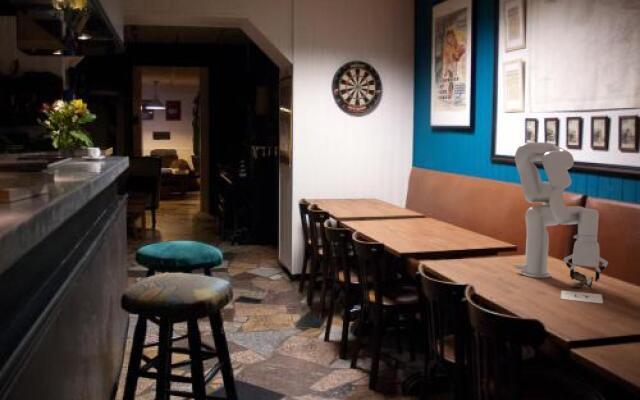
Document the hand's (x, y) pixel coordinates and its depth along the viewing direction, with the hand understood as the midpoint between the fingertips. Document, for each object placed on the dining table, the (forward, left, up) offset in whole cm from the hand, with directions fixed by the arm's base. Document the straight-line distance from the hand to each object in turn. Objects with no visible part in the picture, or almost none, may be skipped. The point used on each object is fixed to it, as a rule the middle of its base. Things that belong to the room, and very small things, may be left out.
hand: (584, 279), depth 262 cm
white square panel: (-1, -15, -4) cm, 15 cm away
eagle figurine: (-1, +1, -4) cm, 4 cm away
